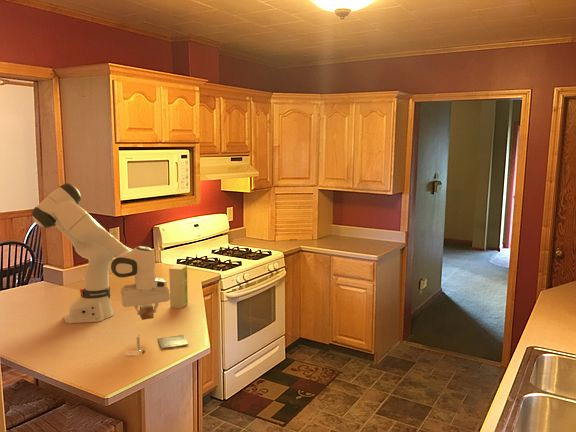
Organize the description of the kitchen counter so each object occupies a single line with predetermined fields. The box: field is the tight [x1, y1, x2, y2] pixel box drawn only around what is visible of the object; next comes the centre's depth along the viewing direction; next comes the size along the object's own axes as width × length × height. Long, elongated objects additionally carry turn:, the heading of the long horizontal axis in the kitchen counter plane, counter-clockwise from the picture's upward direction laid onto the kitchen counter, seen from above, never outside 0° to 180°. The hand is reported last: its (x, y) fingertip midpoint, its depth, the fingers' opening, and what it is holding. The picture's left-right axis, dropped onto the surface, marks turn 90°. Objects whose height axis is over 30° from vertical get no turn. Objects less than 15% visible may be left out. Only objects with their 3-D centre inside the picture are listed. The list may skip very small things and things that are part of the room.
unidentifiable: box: [124, 334, 146, 357], centre depth 199 cm, size 8×5×8 cm
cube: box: [139, 303, 155, 321], centre depth 217 cm, size 5×5×5 cm
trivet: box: [157, 334, 189, 350], centre depth 211 cm, size 11×11×1 cm
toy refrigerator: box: [168, 264, 189, 309], centre depth 257 cm, size 8×7×21 cm
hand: (146, 313), depth 217 cm, fingers closed on cube, 5 cm apart
